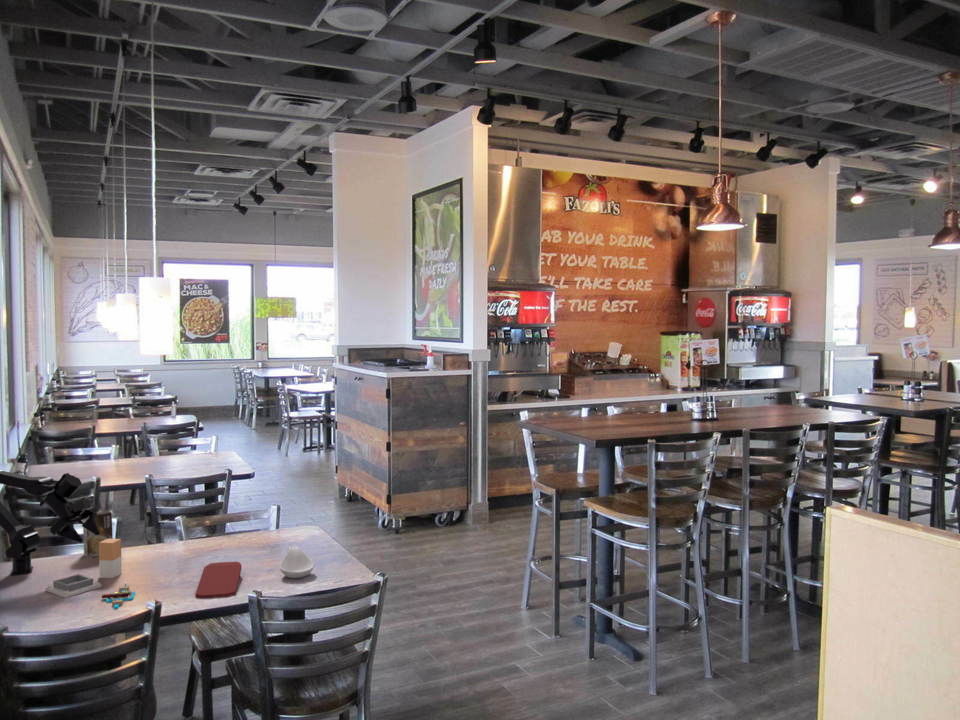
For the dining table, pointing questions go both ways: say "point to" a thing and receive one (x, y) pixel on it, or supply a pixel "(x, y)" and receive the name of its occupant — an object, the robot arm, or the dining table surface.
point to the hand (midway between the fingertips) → (90, 538)
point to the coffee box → (105, 529)
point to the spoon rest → (296, 563)
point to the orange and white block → (110, 558)
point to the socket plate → (72, 585)
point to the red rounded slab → (219, 580)
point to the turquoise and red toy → (122, 594)
